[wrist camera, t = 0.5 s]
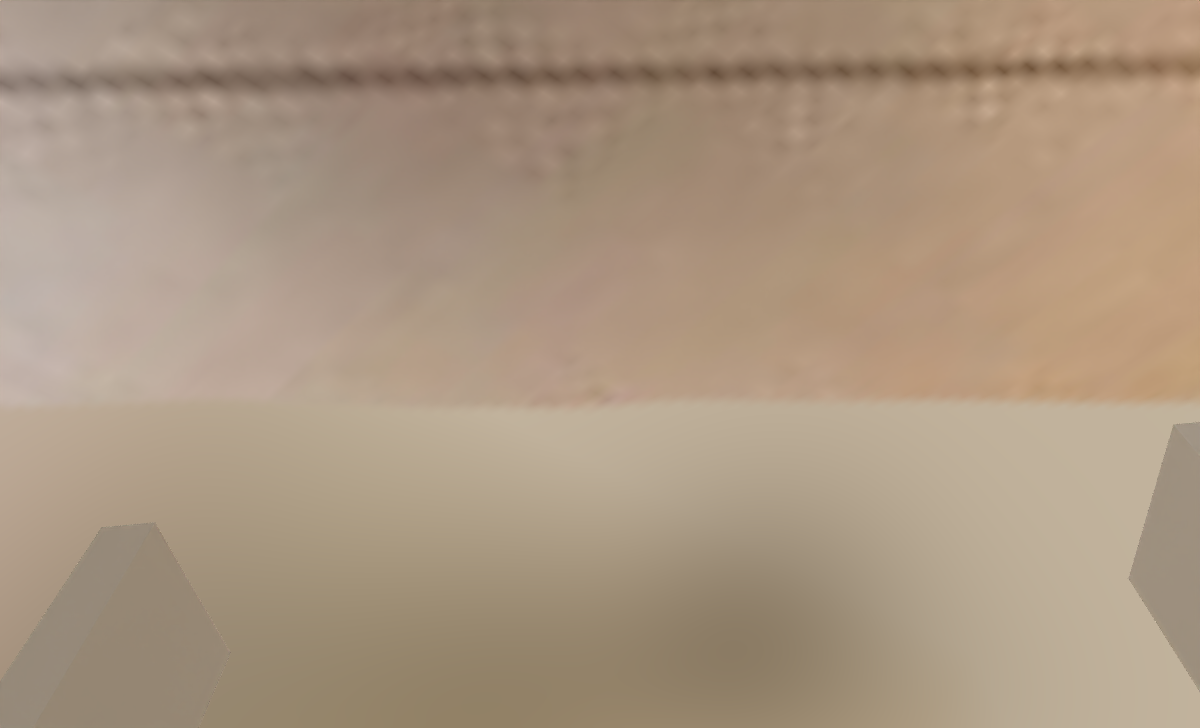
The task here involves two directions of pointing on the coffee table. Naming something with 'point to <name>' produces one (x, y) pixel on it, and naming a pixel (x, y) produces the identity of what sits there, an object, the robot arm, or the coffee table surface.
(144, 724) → the robot arm
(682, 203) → the coffee table surface
